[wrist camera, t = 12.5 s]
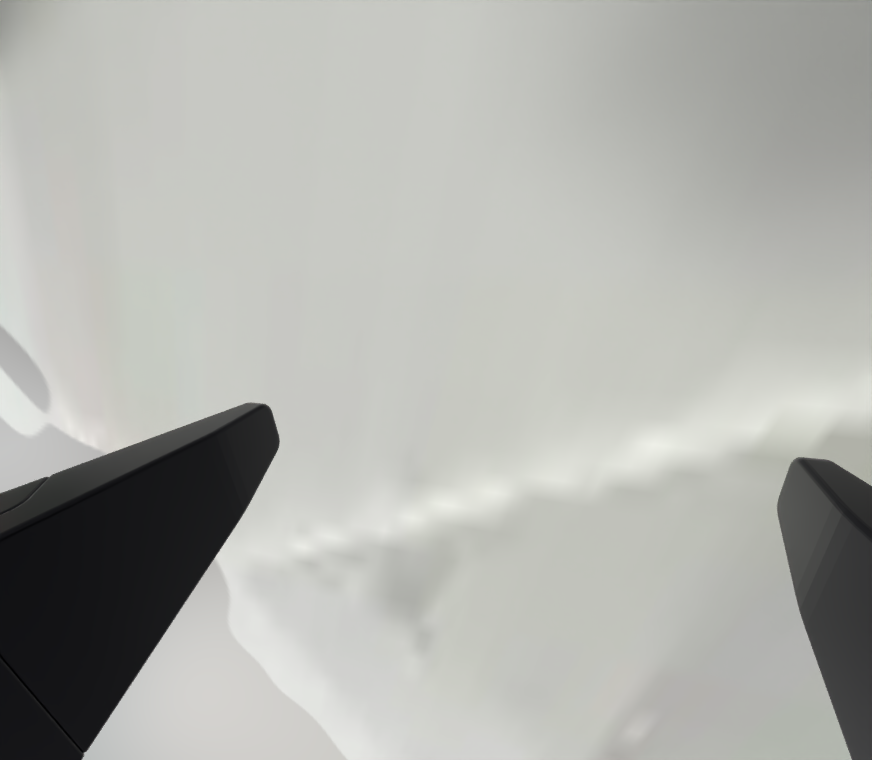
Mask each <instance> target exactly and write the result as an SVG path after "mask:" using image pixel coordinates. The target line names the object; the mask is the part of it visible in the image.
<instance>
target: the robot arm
mask: <svg viewBox="0 0 872 760" xmlns="http://www.w3.org/2000/svg"><path fill="white" fill-rule="evenodd" d="M279 442H280V440H279V434H278V431H277V427H276V424H275V420H274V417H273V413H272V410H271V409H270V407H269V406H268V405H266V404H260V403H245V404H243V405H240V406H237V407H234V408H232V409H229V410H226V411H224V412H221V413H218V414H215V415H213V416H210V417H207V418H205V419H202V420H199V421H196V422H194V423H191V424H188V425H186V426H183V427H180V428H177V429H175V430H172V431H169V432H167V433H164V434H161V435H158V436H156V437H153V438H150V439H148V440H145V441H142V442H139V443H137V444H134V445H131V446H128V447H126V448H123V449H120V450H118V451H115V452H112V453H109V454H107V455H104V456H101V457H99V458H96V459H93V460H91V461H88V462H85V463H82V464H80V465H77V466H74V467H72V468H69V469H66V470H63V471H61V472H58V473H55V474H53V475H51V476H50V477H44V478H41V479H39V480H36V481H33V482H30V483H28V484H25V485H22V486H19V487H17V488H14V489H11V490H8V491H6V492H3V493H0V760H82V759H83V757H84V752H86V751H87V750H88V749H89V747H90V746H91V744H92V743H93V741H94V740H95V738H96V737H97V735H98V734H99V732H100V731H101V729H102V728H103V726H104V725H105V723H106V722H107V720H108V718H109V717H110V715H111V714H112V712H113V711H114V709H115V708H116V706H117V705H118V703H119V702H120V700H121V699H122V697H123V696H124V694H125V693H126V691H127V690H128V688H129V687H130V685H131V684H132V682H133V681H134V679H135V678H136V676H137V675H138V673H139V672H140V670H141V669H142V667H143V666H144V664H145V663H146V661H147V660H148V658H149V656H150V655H151V653H152V652H153V650H154V649H155V647H156V646H157V644H158V643H159V641H160V640H161V638H162V637H163V635H164V634H165V632H166V631H167V629H168V628H169V626H170V625H171V623H172V622H173V620H174V619H175V617H176V615H177V614H178V613H179V611H180V609H181V608H182V607H183V605H184V604H185V602H186V601H187V599H188V597H189V596H190V595H191V593H192V591H193V590H194V588H195V587H196V585H197V584H198V582H199V581H200V579H201V578H202V576H203V575H204V573H205V572H206V570H207V569H208V567H209V566H210V564H211V563H212V561H213V560H214V558H215V557H216V555H217V554H218V552H219V551H220V549H221V548H222V546H223V545H224V543H225V542H226V540H227V539H228V537H229V536H230V534H231V533H232V531H233V529H234V528H235V526H236V525H237V523H238V522H239V520H240V519H241V517H242V516H243V514H244V512H245V511H246V509H247V507H248V505H249V503H250V502H251V500H252V498H253V496H254V494H255V492H256V490H257V488H258V486H259V485H260V483H261V481H262V479H263V477H264V475H265V473H266V471H267V469H268V468H269V466H270V464H271V462H272V460H273V458H274V456H275V454H276V452H277V450H278V448H279ZM777 512H778V518H779V523H780V527H781V532H782V536H783V541H784V545H785V550H786V554H787V559H788V563H789V568H790V572H791V577H792V581H793V586H794V590H795V595H796V599H797V603H798V607H799V611H800V614H801V617H802V620H803V623H804V626H805V629H806V632H807V635H808V637H809V640H810V643H811V646H812V649H813V651H814V654H815V657H816V660H817V663H818V665H819V668H820V671H821V674H822V677H823V680H824V682H825V685H826V688H827V691H828V694H829V696H830V699H831V702H832V705H833V708H834V710H835V713H836V716H837V719H838V722H839V724H840V727H841V730H842V733H843V736H844V739H845V741H846V744H847V747H848V750H849V753H850V755H851V758H852V760H872V486H871V485H869V484H867V483H866V482H864V481H863V480H861V479H859V478H858V477H856V476H855V475H853V474H851V473H850V472H848V471H846V470H845V469H843V468H842V467H840V466H838V465H837V464H835V463H834V462H832V461H829V460H825V459H814V458H804V457H798V458H796V459H794V460H793V462H792V463H791V465H790V467H789V470H788V473H787V475H786V478H785V481H784V484H783V487H782V490H781V493H780V495H779V499H778V504H777Z"/></svg>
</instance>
